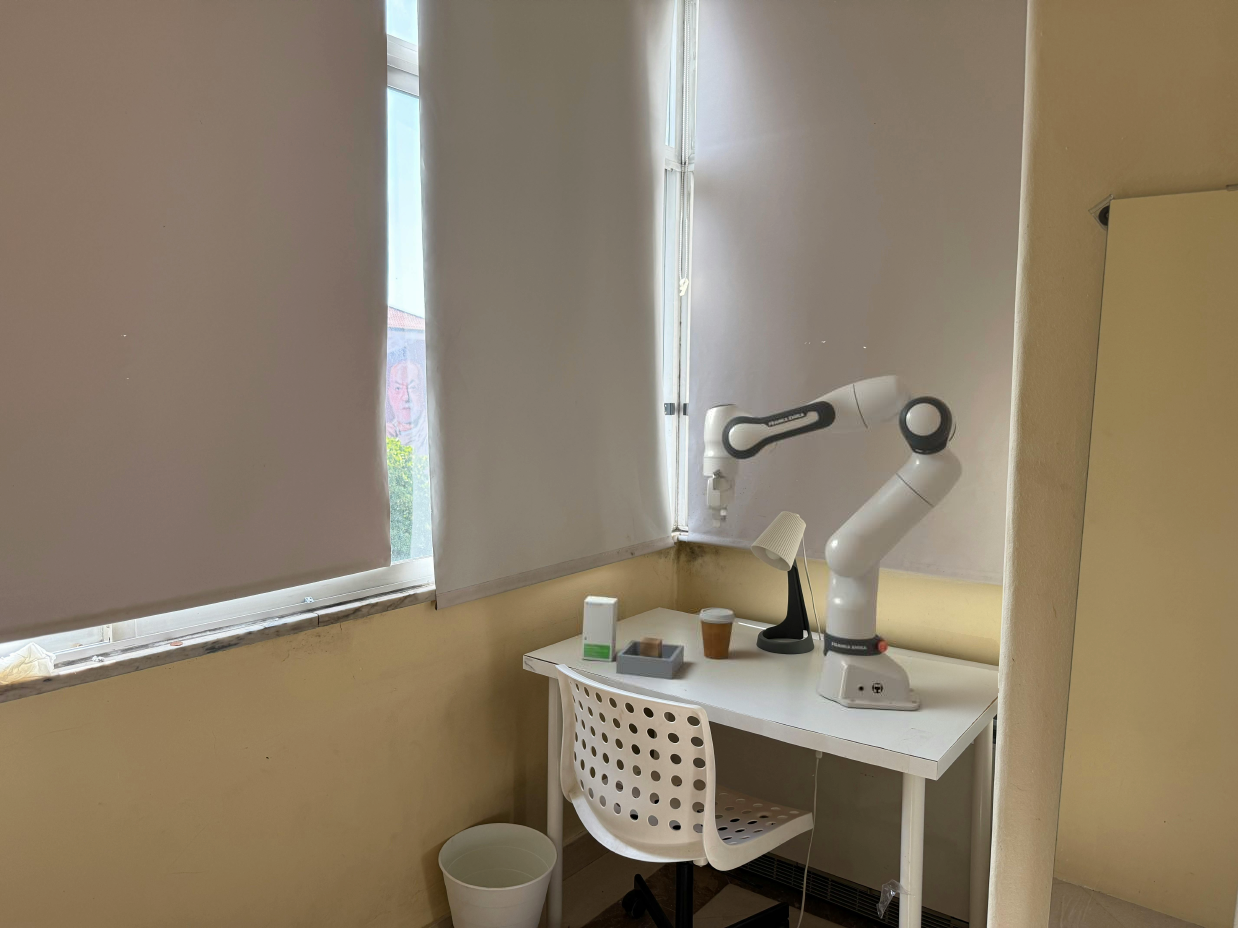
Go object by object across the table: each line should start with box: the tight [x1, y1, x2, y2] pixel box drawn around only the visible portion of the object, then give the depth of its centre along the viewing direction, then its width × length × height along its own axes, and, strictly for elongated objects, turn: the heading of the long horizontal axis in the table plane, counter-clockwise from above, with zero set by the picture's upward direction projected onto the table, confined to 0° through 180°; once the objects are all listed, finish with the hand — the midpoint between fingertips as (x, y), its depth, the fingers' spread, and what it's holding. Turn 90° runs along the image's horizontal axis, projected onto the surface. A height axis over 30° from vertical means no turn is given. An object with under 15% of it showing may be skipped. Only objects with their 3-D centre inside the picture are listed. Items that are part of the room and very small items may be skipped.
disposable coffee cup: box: [698, 607, 736, 660], centre depth 203 cm, size 10×10×12 cm
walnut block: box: [640, 636, 663, 659], centre depth 192 cm, size 4×4×6 cm
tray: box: [615, 639, 685, 680], centre depth 192 cm, size 14×14×4 cm
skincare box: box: [581, 595, 619, 663], centre depth 200 cm, size 8×7×16 cm
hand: (719, 524), depth 191 cm, fingers open, 8 cm apart
